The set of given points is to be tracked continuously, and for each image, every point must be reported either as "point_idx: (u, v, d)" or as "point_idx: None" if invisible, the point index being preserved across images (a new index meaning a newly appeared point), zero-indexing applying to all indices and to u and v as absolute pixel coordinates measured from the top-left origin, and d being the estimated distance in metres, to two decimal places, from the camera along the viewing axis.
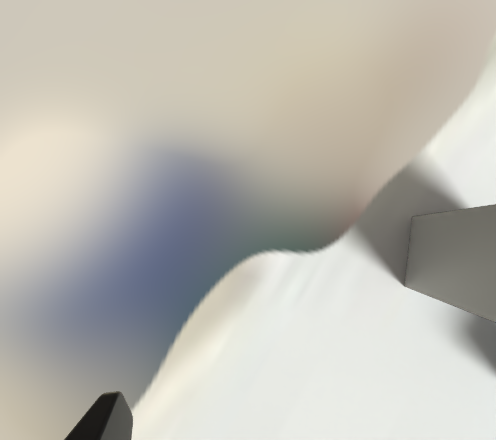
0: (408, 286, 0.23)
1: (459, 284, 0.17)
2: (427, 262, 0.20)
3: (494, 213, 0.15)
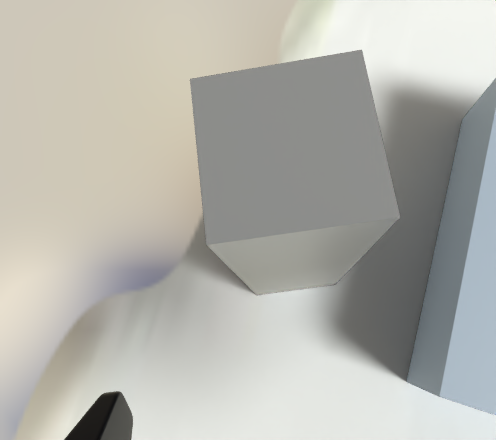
0: (255, 292, 0.20)
1: None
2: None
3: None
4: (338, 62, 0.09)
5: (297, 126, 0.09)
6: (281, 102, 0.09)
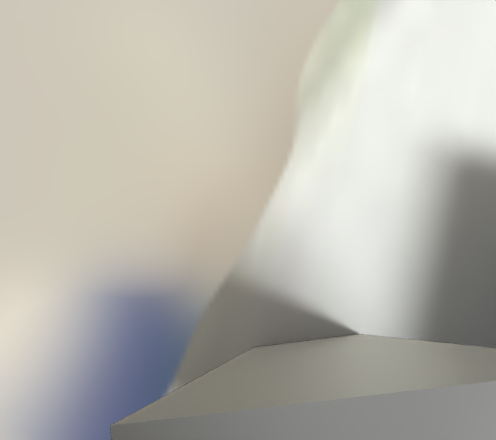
0: None
1: None
2: None
3: None
4: None
5: None
6: None
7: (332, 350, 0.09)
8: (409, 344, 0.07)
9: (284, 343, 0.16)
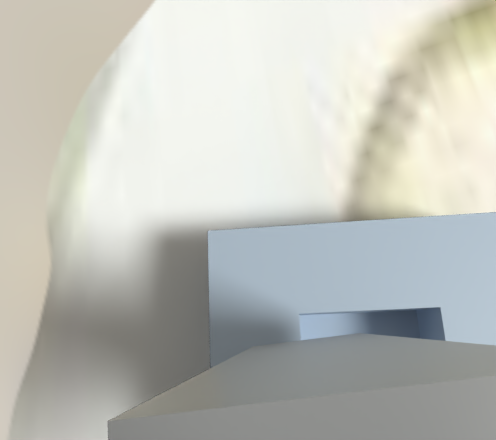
0: None
1: None
2: None
3: None
4: None
5: None
6: None
7: (331, 348, 0.09)
8: (407, 342, 0.08)
9: None
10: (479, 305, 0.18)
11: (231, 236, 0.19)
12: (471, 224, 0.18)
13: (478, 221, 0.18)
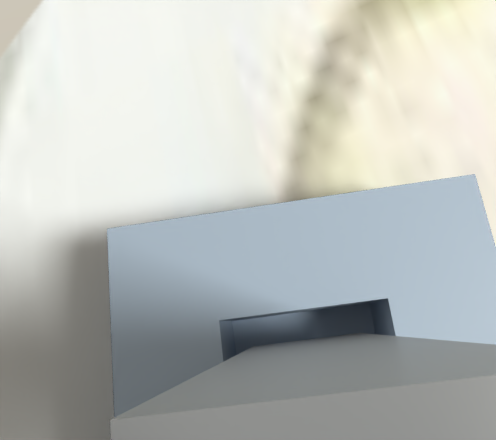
0: None
1: None
2: None
3: None
4: None
5: None
6: None
7: (332, 348, 0.09)
8: (409, 342, 0.07)
9: (284, 342, 0.16)
10: (434, 292, 0.14)
11: (135, 233, 0.16)
12: (418, 195, 0.15)
13: (427, 191, 0.15)
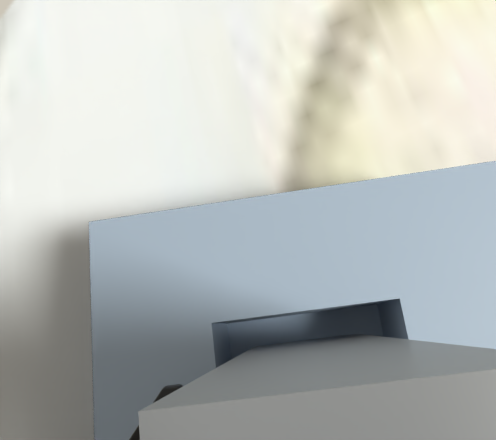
0: None
1: None
2: None
3: None
4: None
5: None
6: None
7: (328, 349, 0.09)
8: (399, 343, 0.08)
9: None
10: (451, 291, 0.13)
11: (119, 226, 0.14)
12: (433, 184, 0.14)
13: (442, 179, 0.14)
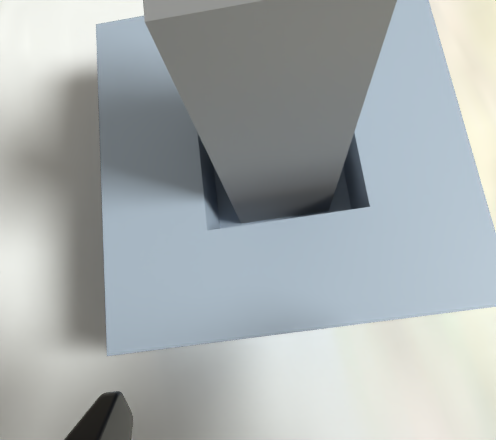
0: (239, 217, 0.18)
1: None
2: None
3: None
4: None
5: None
6: None
7: None
8: None
9: None
10: (380, 57, 0.16)
11: (120, 26, 0.18)
12: None
13: None
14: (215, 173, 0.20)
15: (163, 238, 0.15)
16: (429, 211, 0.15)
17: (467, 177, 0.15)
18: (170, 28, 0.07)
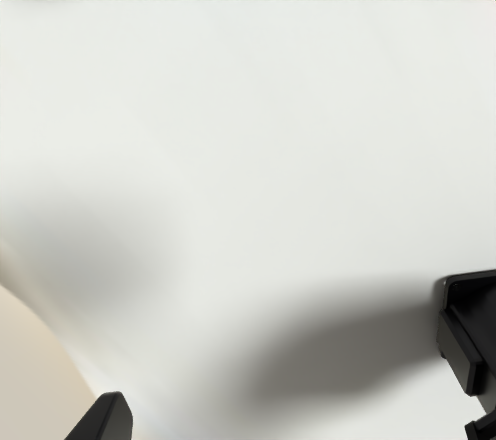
0: None
1: None
2: None
3: None
4: None
5: None
6: None
7: None
8: None
9: None
10: None
11: None
12: None
13: None
14: None
15: None
16: None
17: None
18: None
